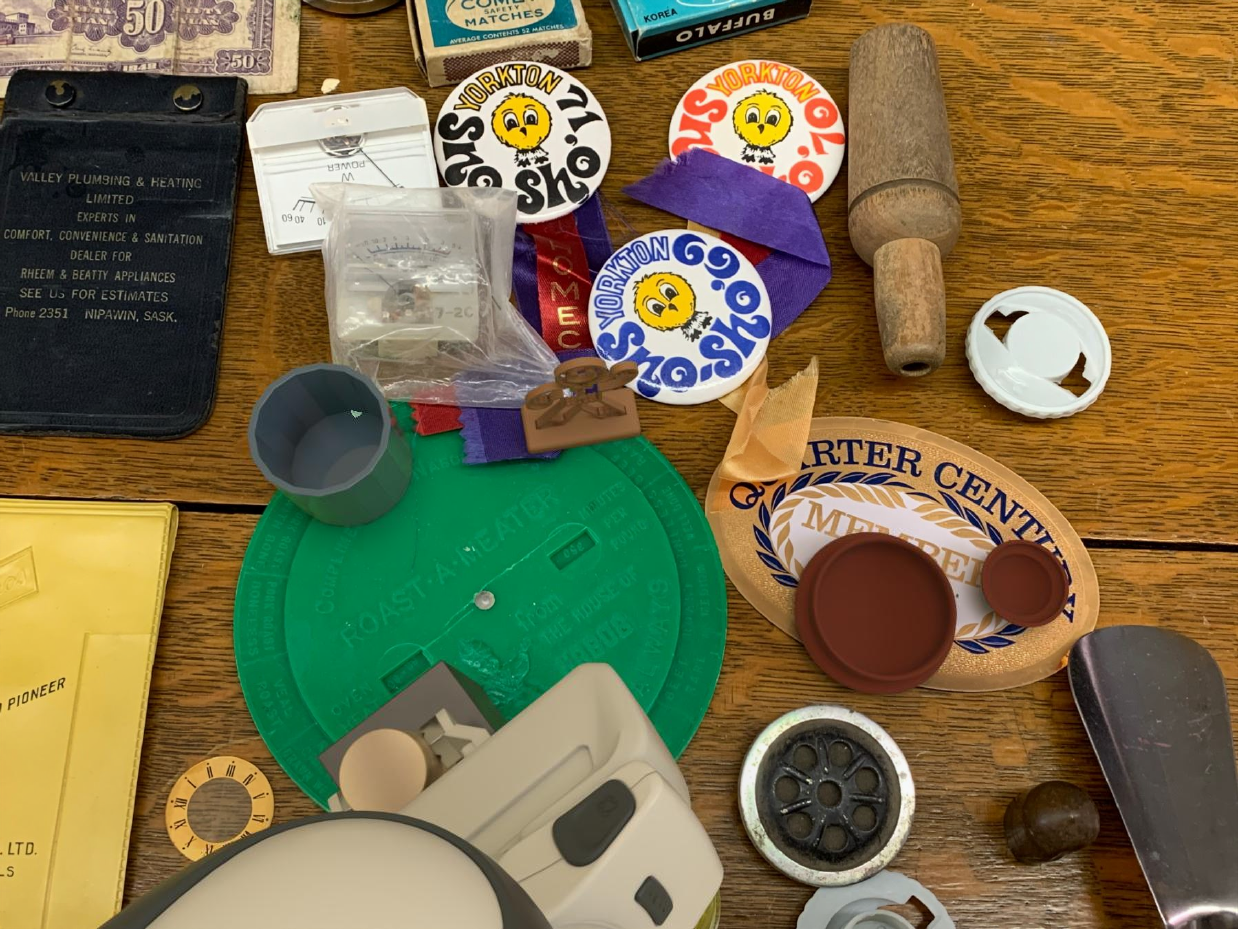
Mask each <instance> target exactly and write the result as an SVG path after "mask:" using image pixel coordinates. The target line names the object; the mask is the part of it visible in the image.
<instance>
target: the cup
mask: <svg viewBox="0 0 1238 929" xmlns="http://www.w3.org/2000/svg"><path fill="white" fill-rule="evenodd" d="M351 410H353V411H357V412H362V414H361V415H360V416H358V417H356V418H355V417H354V416H353V415H352V413H351ZM246 435H247V441H248V446H249V447H248V448H249V451H250V456H251V459H252V461H253V463H254V464H255V465H256V467H257V468H258V470H259V471H260V472H261V474H262V475H263V477H264V478H265V479H266V481H268V482H269V483H270V484H271V485H272V486H273V487H275V488H276V489H277V490H278V491H279V492H280V493H282V494H283V495H284V496H285V497H286V498H288V500H290V501H291V502H292V503H293V504H294V505H296V506H297V507H298V508H299V509H300V510H301V511H302V512H304V513H306V514H307V515H309V516H311V517H312V518H314V519H315V520H318V521H320V522H321V523H325V524H327V525H331V526H336V527H357V526H361V525H366V524H369V523H371V522H373V521H376V520H378V519H379V518H381V517H383V516H385V515H386V514H387V513H388V512H390V511H391V510H393V508H394V507H395V506H397V504H398V503H399V502H400V501H401V499H402V497H403V496H404V495H405V493H406V492H407V489H408V487H409V485H410V482H411V478H412V476H413V468H414V466H413V465H414V460H413V458H414V457H413V453H412V452H413V451H412V448H411V445H410V442H409V438H408V436H407V434H406V432H405V430H404V428H403V426H402V425H401V423H400V422H399V420H398V418H397V416H396V414H395V412H394V411H393V409H392V407H391V406H390V404H389V402H388V400H387V398H386V397H385V395H384V394H383V393H382V391H381V390H380V389H379V388H378V386H377V385H376V383H375V382H374V381H373V380H372V379H371V378H370V377H369V376H367V375H365V374H363V373H362V372H360V371H358V370H356V369H354V368H352V367H351V366H349V365H345V364H337V363H329V362H328V363H327V362H315V363H312V364H308V365H304V366H299V367H295V368H293V369H290V370H289V371H287V372H286V373H284V374H283V375H282V376H280V377H278V378H277V379H275V380H274V381H272V382H271V383H270V384H269V385H267V387H266V388H265V390H264V391H263V392H262V394H261V395H260V397H259V398H258V400H257V401H256V402H255V404H254V405H253V407H252V410H251V414H250V418H249V422H248V427H247V431H246Z"/></svg>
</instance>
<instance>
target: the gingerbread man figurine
mask: <svg viewBox="0 0 1238 929" xmlns="http://www.w3.org/2000/svg"><path fill="white" fill-rule="evenodd" d="M596 370H597V371H596ZM639 373H640V372H639V366H638V362H636V361H633V360H624V361H619V362H616V363H614V364H613V365H611V366H610V368H609V370H608V367H607V362H606V360H604V359H603V358H600V357H597V356H581V357H576V358H572V359H569V360H566V361H563V362H562V363H560V364H558V365H557V366H556V367H555V368H554V370H553V376H554V381H549V382H545V383H543V384H541V385H538V386H536V387H534V388H532V389H531V390H529V391H528V392H527V393H526V394H525V396H524V404H522V405H521V406H520V414H521V420H522V425H523V432H524V437H525V444H526V449H527V450H526V451H527V453H528V454H530V455H538V454H543V453H549V452H555V451H561V450H567V449H573V448H579V447H585V446H586V447H587V446H591V445H596V444H597V445H598V444H603V443H609V442H615V441H620V440H627V439H632V438H639V437H640V436H641V433H642V427H641V422H640V417H639V413H638V412H639V411H638V408H637V402H636V398H635V392H634V389H633V388H631V387H624V386H626V385H628V384H629V383H631V382H632V381H634V380H636V378H637V377H638V376H639ZM563 375H564V376H563ZM594 385H597V386H596V388H597V389H596V391H593V392H592V393H590V392H588V393H587V392H586V390H593V389H594ZM621 387H622V388H621ZM623 387H624V388H623ZM567 389H568V390H569V392H570V393H573V392H575V395H570V396H565V394H564V390H567Z"/></svg>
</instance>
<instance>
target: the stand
mask: <svg viewBox="0 0 1238 929" xmlns="http://www.w3.org/2000/svg"><path fill="white" fill-rule="evenodd" d="M443 708H445V709H446V710H447V711H448V712H449V714H450V715H451V716H452V717H453V718H454V720H455V721H456V722H457V723H458V724H460V725H466V726H472V727H478V728H484V729H486V730H487V731H488V732H489V733H490V735H491V736H492V735H493V734H495V733H496V732H497V731H498V730H499V729H501V728H502V727H503V726H504V725H506V724H507V723H508V722H509V721H507V720H506V718H505V717H504V715H503V714H502V713H501V711H500V710H499V709H498V707H497V706H496V705H495V703H494V702H493V701H492V699H491V698H490V697H489V695H488V694H487V693H486V691H485V690H484V688H483V687H482V686H481V684H480V683H479V682H477V681H476V680H475V679H473V678H472V677H470V676H468V675H466V674H465V673H463V672H462V671H461V670H459V669H457V668H455V667H454V666H453V665H451V664H450V663H448V662H447V661H445V660H444V659H440V660H439V661H437V663H435V664H434V665H432V667H430V668H429V669H427V670H426V671H425V672H424V673H422V674H421V675H420V676H418V677H417V678H416V679H414V680H413V681H412V682H411V683H410V684H408V685H407V686H406V687H404V688H403V689H401V691H399V692H398V693H397V694H395V695H394V696H393V697H391V698H390V699H389V700H388V701H386V702H385V703H383V705H381V706H380V707H378V708H377V709H376V710H374V712H372V713H371V714H370V715H368V716H367V717H366V718H364V719H363V720H362V721H361V722H359V723H358V724H356V726H354V727H353V728H352V729H350V730H348V732H346V733H345V734H344V735H342V736H341V737H340V738H338V739H337V740H336V741H335V742H333V743H332V744H331V745H330V746H328V747H327V748H326V749H325V750H323V751H322V752H320V753H319V754H318V755H317V756H316V758H317V760H318V761H319V763H320V764H321V766H322V767H323V768H324V770H325V771H326V773H327V774H328V776H329V777H330V779H331V780H332V782H333V783H334V785H335V786H336V787H337V789H338V791H339V790H340V789H341V788H340V783H339V772H340V766H341V762H342V760H343V757H344V755H345V753H346V751H347V750H348V749H349V747H350V746H351V745H352V744H353V743H354V742H355V741H356V740H357V739H358V738H359V737H361V736H362V735H364V734H366V733H368V732H370V731H373V730H377V729H384V728H388V729H397V730H405V731H413V732H420V731H419V728H420V727H421V726H422V725H423V724H425V723H426V722H427V721H428V720H430V719H431V718H432V717H433V716H435V715H436V714H437V713H438V712H439V711H440V710H441V709H443ZM462 759H463V758H461V759H460V760H459V761H457V762H456V764H457V763H458V762H460V761H461V760H462Z"/></svg>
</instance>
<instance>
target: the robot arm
mask: <svg viewBox="0 0 1238 929" xmlns="http://www.w3.org/2000/svg"><path fill="white" fill-rule="evenodd" d="M507 722H508V723H507V724H506V725H504V726H503V727H502V728H501V729H499V730H498V731H497V732H496V733H495V734H493V735H492V736H491V735H490V733H489V732H488V731H487V730H486V729H484V728H478V727H472V726H466V725H460V724H458V723H457V722H456V721H455V720H454V718H453V717H452V716H451V715H450V714H449V712H448V711H447V710H446V709H445V708H443V709H441V710H440V711H439V712H438V713H437V714H436V715H435V716H433V717H432V718H431V719H430V720H428V721H427V722H426V723H425V724H423V725H422V726H421V727H420V728H419V731H420V733H421V734H422V735H423V736H424V740H425V741H426V742H427V744H428V745H429V747H430V748H431V749H432V751H433V752H434V754H435V755H438V757H439V758H440V760H441V761H442V763H443V764H444V765H445V766H446V767H447V768H450V767H451V766H452V765H453V764H455V763H456V762H457V761H459V760H460V759H461V758H463V759H462V760H461V761H460V762H458V763H457V764H456V765H455V766H453V767H452V768H451V769H450V770H449V771H447V772H446V773H445V774H444V775H442V776H441V777H440V778H439V779H437V780H436V781H435V782H434V783H432V784H431V785H430V786H429V787H427V788H426V789H425V790H424V791H422V792H421V793H420V794H419V795H418V796H416V797H415V798H414V799H413V800H411V801H410V802H409V803H408V804H406V805H405V806H404V807H403V808H401V809H400V810H399V811H398V812H397V813H388V812H380V811H354V810H353V809H352V808H351V807H350V806H349V805H348V803H347V802H346V800H345V799H344V797H343V794H342V792H341V789H340V790H339V789H338V790H337V791H336V792H334V794H332V795H331V796H330V797H329V798H327V804H328V807H329V810H330V812H324V813H318V814H313V815H308V816H302V817H299V818H295V819H291V820H289V821H288V820H287V821H284V822H281V823H277V824H275V825H272V826H271V825H270V826H269V827H266V828H263V829H261V830H259V831H256V832H252V833H250V834H247V835H245V836H243V837H241V838H238V839H235V840H233V841H231V842H228V843H227V844H225V845H223V846H221V847H219V848H216V849H215V850H213V851H211V852H209V853H207V854H205V855H204V856H202V857H200V858H199V859H197V860H195V861H193V862H192V863H190V864H188V865H186V866H185V867H184V868H182V869H181V870H179V871H178V872H176V873H174V874H173V875H171V876H170V877H168V878H166V879H164V880H163V881H161V882H160V883H158V884H157V885H155V886H154V887H152V888H151V889H150V890H148V891H147V892H145V893H144V894H143V895H141V896H139V897H138V898H137V899H135V900H134V901H133V902H131V903H129V904H128V905H127V906H126V907H124V908H123V909H121V910H120V911H119V912H117V913H116V914H115V915H113V916H111V918H109V919H108V920H106V921H105V922H103V923H102V924H101V925H100V926H99V927H97V928H96V929H695V927H696V926H697V924H698V923H699V922H700V920H701V919H702V916H703V915H704V913H705V912H706V911H707V909H708V907H709V906H710V904H711V902H712V901H713V899H714V898H715V896H716V894H717V892H718V891H719V890H720V887H721V885H722V883H723V880H724V873H725V872H724V867H723V864H722V862H721V859H720V857H719V855H718V852H717V850H716V848H715V845H714V844H713V841H712V840H711V837H710V836H709V834H708V832H707V831H706V829H705V827H704V825H703V824H702V822H701V821H700V819H699V818H698V816H697V815H696V813H695V812H694V810H693V809H692V808H691V807H692V803H691V802H692V801H691V795H690V792H689V791H690V790H689V788H688V784H687V782H686V779H685V777H684V775H683V774H682V771H681V769H680V768H679V766H678V764H677V762H676V760H675V758H674V757H673V755H672V753H671V752H670V750H669V748H668V747H667V745H666V743H665V742H664V740H663V739H662V737H661V736H660V734H659V732H658V731H657V728H656V727H655V726H654V724H653V723H652V721H651V720H650V718H649V716H648V715H647V713H646V712H645V711H644V709H643V708H642V706H641V705H640V704H639V702H638V700H637V699H636V698H635V696H634V695H633V694H632V692H631V691H630V689H629V688H628V686H627V685H626V683H625V682H624V681H623V679H622V677H620V675H619V674H618V672H616V670H615V669H614V668H613V667H612V666H611V665H610V664H608V663H606V662H585V663H580V664H579V665H577V666H575V668H574V669H572V670H571V671H570V672H568V674H567V673H566V675H565V676H564V677H563V678H561V679H559V681H558V682H557V683H555V684H554V685H552V687H550V688H549V689H548V690H546V691H545V692H544V693H542V695H540V696H539V697H538V698H536V699H535V700H534V701H533V702H531V703H530V704H529V705H527V707H525V708H524V709H523V710H521V711H520V712H519V713H518V714H517V715H515V716H514V717H513V718H512V719H510V721H507Z"/></svg>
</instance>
